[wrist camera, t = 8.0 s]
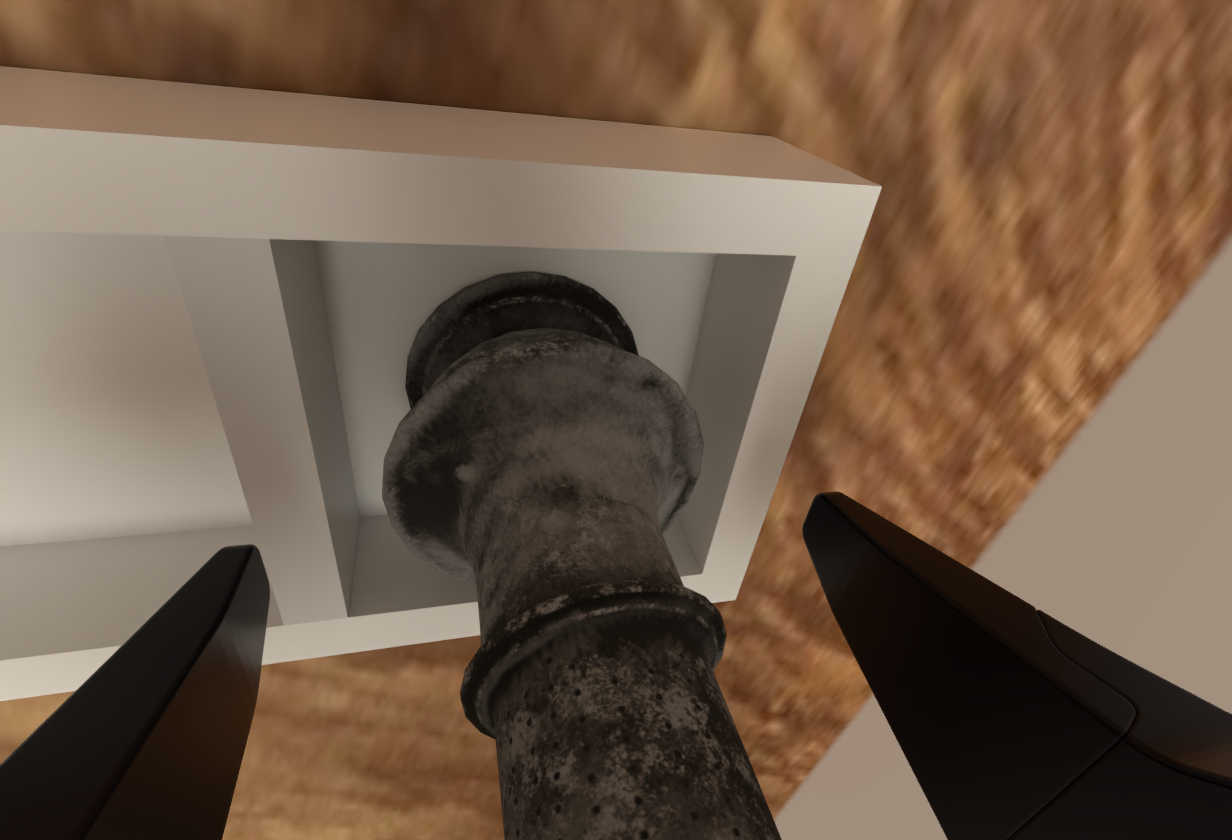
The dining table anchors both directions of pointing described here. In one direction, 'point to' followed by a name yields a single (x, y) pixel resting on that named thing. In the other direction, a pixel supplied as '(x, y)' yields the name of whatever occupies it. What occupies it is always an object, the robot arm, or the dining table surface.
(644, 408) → the grey stone turned post
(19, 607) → the condiment caddy
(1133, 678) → the robot arm
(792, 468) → the dining table surface
